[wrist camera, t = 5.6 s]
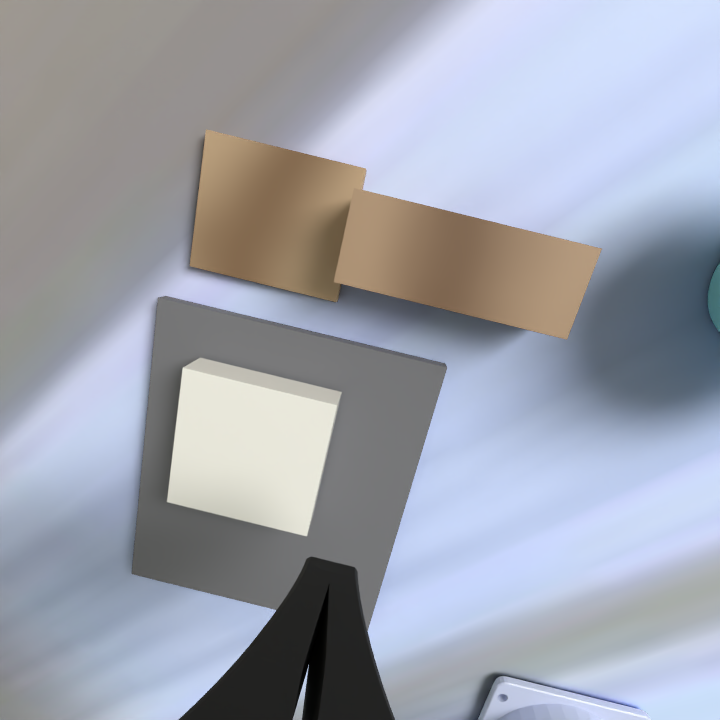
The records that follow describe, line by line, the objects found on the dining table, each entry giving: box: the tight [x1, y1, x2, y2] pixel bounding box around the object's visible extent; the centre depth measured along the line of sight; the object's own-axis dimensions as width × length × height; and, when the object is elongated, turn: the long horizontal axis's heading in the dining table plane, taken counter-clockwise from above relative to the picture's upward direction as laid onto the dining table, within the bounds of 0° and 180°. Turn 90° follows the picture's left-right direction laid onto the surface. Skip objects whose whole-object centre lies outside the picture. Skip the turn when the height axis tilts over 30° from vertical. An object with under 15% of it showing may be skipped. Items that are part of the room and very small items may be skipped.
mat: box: [132, 296, 447, 631], centre depth 19 cm, size 14×12×1 cm
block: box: [167, 358, 342, 536], centre depth 17 cm, size 6×2×6 cm
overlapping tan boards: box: [190, 130, 602, 339], centre depth 15 cm, size 14×5×3 cm, turn 77°
